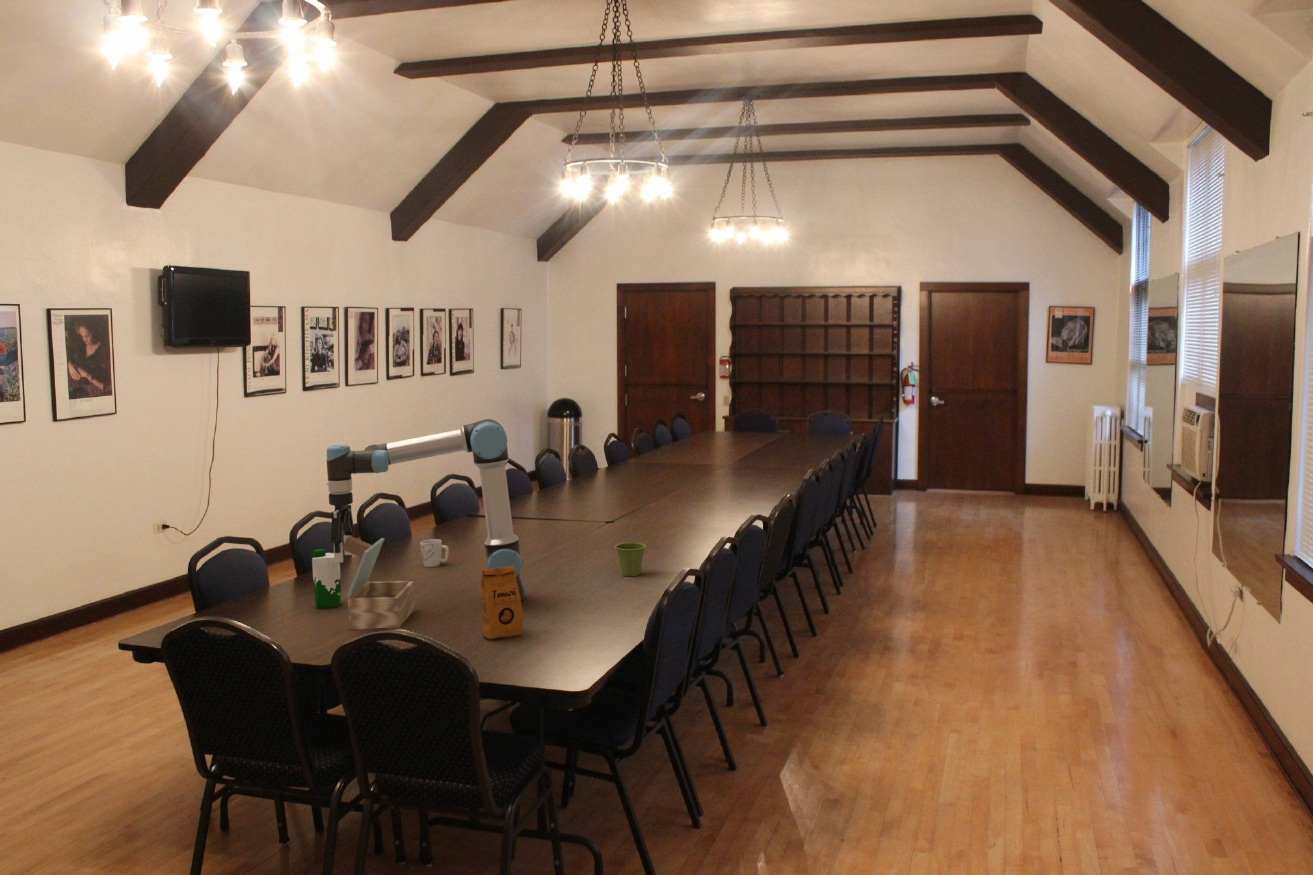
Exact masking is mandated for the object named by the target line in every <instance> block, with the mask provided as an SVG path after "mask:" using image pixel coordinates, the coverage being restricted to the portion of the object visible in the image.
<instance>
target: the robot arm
mask: <svg viewBox="0 0 1313 875" xmlns="http://www.w3.org/2000/svg"><path fill="white" fill-rule="evenodd" d="M508 450H509V449H508V436H507V433H506V431H505V429H504V426H502V424H500V423H499V421H496V420H494V419H487V418H486V419H482V420H479V421H476V422H472V423H469V424H464V425H461V427H460V428H458V429H453V430H448V431H444V432H443V431H442V432H436V433H432V434H428V435H423V436H422V435H421V436H417V437H413V438H406V439H401V440H397V441H390V442H386V443H381V444H371V445H367V446H366V447H365V448H364V450H351V446H350V445H348V444H336V445H329V446H328V447H327V448H326V469H327V470H326V474H327V482H326V486H328V487H327V488H328V492H329V494H328V504H329V506H334V510H333V511H331V514H330V515H331V529H330V541H329V542H330V544H333V553H334V561H335V563H337V562H340V563H344V556H353V555H354V554H352V553H349V552H347V551H344V550H343V546H344V544H345V541H346V539H347V538H348V537H349V536H351V537H353V536H354V535H355V534H356V531H355V526H354V519H353V513H352V504H353V503H354V498H353V480H352V479H353V478H352V474H353V475H354V474H355V475H356V474H380V473H387V472H388V471H389V465H390V466H391V465H394V464H395V465H396V464H400V463H404V462H405V463H406V462H409V461H410V462H411V461H415V460H422V459H426V458H433V457H436V456H442V455H449V454H453V453H458V452H463V451H464V452H466V453H472V457H473V458H472V459H473V464H474V465H475V466H476V467H477V468H478V469H479V476H480V484H481V485H480V486H481V490H482V491H481V493H482V501H483V509H484V516H485V522H486V531H487V536H486V537H485V540H484V542H483V543H484V551H485V561H486V563H485V564H486V569H491V568H501V567H508V566H515V572H514V573H515V576H516V580H517V584H518V588H519V593H520V598H521V602H522V601H524V600H525V599H526V598H527V596H526V595H527V594H526V590H525V586H524V583H523V581H522V578H521V572H522V568H523V559H522V556H521V554H522V553H521V548H520V540H519V535H517V534H515V533H514V526H513V521H512V520H513V519H512V512H511V510H512V509H511V502H510V496H509V494H510V493H509V487H508V479H507V471H506V464H507V462H508V461H509V460H510V459H509V452H508ZM343 533H344V535H343ZM342 537H343V542H342Z"/></svg>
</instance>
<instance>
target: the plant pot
mask: <svg viewBox="0 0 1313 875" xmlns="http://www.w3.org/2000/svg"><path fill="white" fill-rule="evenodd" d="M646 546H647V545H646V544H644V543H641V542H623V543H618V544H616V545H614V547H615V550H616V553H617V556H618V562H619V567H620V573H621V575H622V576H623V577H637V576H640V574H641V570H642V565H643V557H644V553H645V548H646Z"/></svg>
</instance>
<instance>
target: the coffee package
mask: <svg viewBox="0 0 1313 875" xmlns="http://www.w3.org/2000/svg"><path fill="white" fill-rule="evenodd" d="M514 572H515V566H508V567H501V568H491V569H487V568H486V569H482V570H481V574H480V576H481V580H480V596H479V598H480V622H481V623H480V624H481V635H482V636H484V637H485V638H486V639H489V640H492V639H501V638H511V637H517V636H523V633H524V632H523V631H524V620H523V619H524V618H523V616H524V615H523V606H522V601H521V598H520V593H519V588H518V584H517V580H516V576H515V573H514Z"/></svg>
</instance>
